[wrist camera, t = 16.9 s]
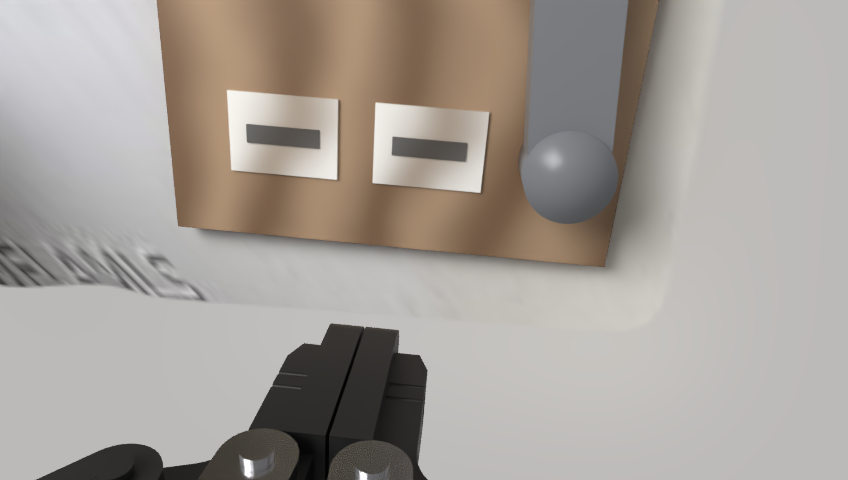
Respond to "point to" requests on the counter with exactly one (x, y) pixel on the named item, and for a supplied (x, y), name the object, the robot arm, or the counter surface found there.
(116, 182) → the counter surface
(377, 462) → the robot arm
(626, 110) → the label board
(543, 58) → the swing arm
